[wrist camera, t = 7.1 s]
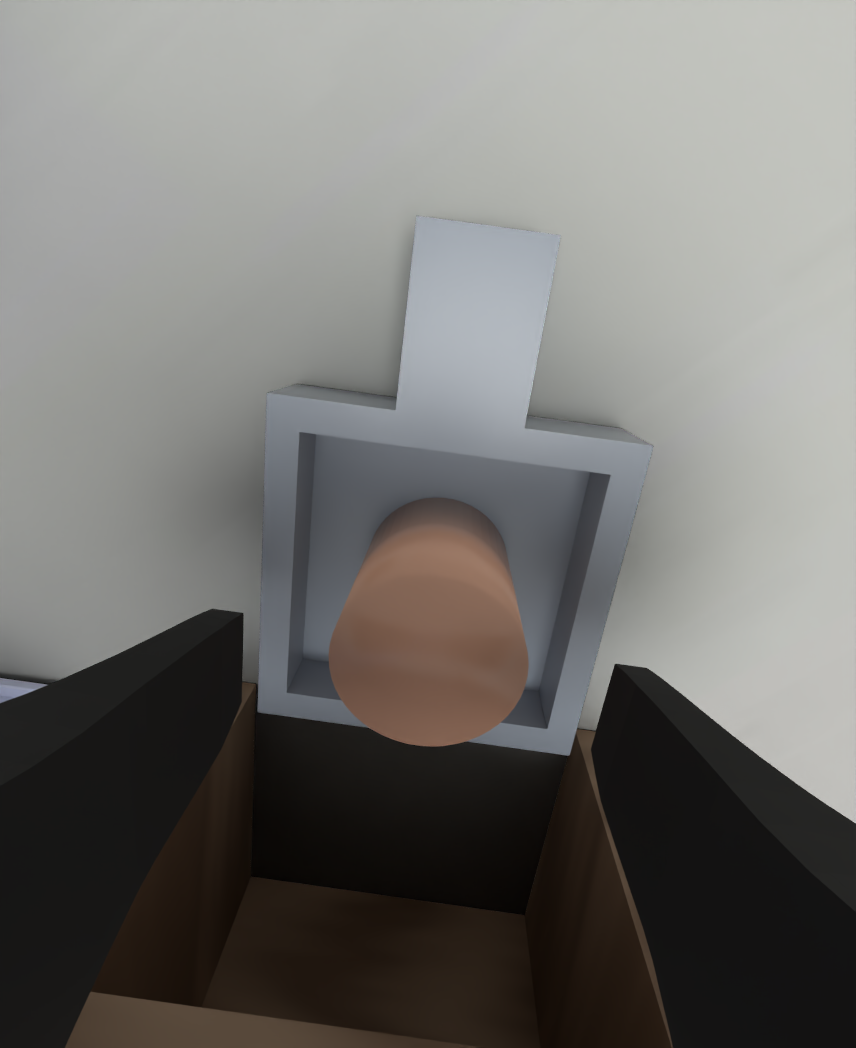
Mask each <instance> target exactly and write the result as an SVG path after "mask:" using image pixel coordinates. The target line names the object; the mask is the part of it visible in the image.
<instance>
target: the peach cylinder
mask: <svg viewBox="0 0 856 1048" xmlns="http://www.w3.org/2000/svg"><path fill="white" fill-rule="evenodd" d="M528 668H529V662H528V651H527V647H526V642H525V637H524V632H523V628H522V623H521V618H520V613H519V609H518V604H517V599H516V594H515V589H514V585H513V580H512V575H511V570H510V566H509V561H508V556H507V551H506V547H505V544H504V541H503V538H502V536H501V534H500V533H499V531H498V529H497V528H496V527H495V525H494V524H493V523H492V521H491V520H490V519H489V518H488V517H487V516H485V515H484V514H483V513H482V512H480V511H479V510H477V509H476V508H474V507H472V506H471V505H468V504H466V503H464V502H461V501H458V500H454V499H448V498H435V497H434V498H424V499H420V500H416V501H413V502H410V503H407V504H405V505H403V506H401V507H399V508H398V509H396V510H395V511H394V512H392V513H391V514H390V515H389V516H388V517H387V518H385V520H384V521H383V522H382V523H381V524H380V526H379V527H378V529H377V530H376V532H375V534H374V536H373V539H372V541H371V543H370V546H369V548H368V550H367V553H366V555H365V558H364V560H363V562H362V565H361V567H360V569H359V572H358V574H357V577H356V579H355V581H354V584H353V586H352V588H351V591H350V593H349V596H348V598H347V600H346V603H345V605H344V608H343V610H342V612H341V615H340V617H339V619H338V622H337V624H336V627H335V629H334V631H333V634H332V638H331V641H330V646H329V669H330V674H331V678H332V681H333V684H334V687H335V689H336V691H337V693H338V695H339V697H340V699H341V700H342V701H343V703H344V704H345V706H346V707H347V708H348V709H349V710H350V712H351V713H352V714H353V715H354V716H355V717H356V718H357V719H359V720H360V721H361V722H362V723H363V724H365V725H366V726H368V727H369V728H371V729H372V730H374V731H375V732H377V733H379V734H381V735H383V736H385V737H388V738H390V739H393V740H396V741H399V742H403V743H406V744H412V745H418V746H447V745H453V744H458V743H462V742H465V741H469V740H471V739H474V738H476V737H479V736H481V735H483V734H484V733H486V732H488V731H490V730H491V729H493V728H494V727H495V726H497V725H498V724H499V723H501V722H502V721H503V720H504V719H505V718H506V717H507V716H508V715H509V714H510V712H511V711H512V710H513V709H514V708H515V706H516V704H517V703H518V701H519V699H520V698H521V695H522V693H523V691H524V688H525V685H526V681H527V677H528Z"/></svg>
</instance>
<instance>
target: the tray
mask: <svg viewBox="0 0 856 1048" xmlns="http://www.w3.org/2000/svg"><path fill="white" fill-rule="evenodd" d="M560 237H561V235H556V234H549V233H541V232H534V231H527V230H519V229H512V228H505V227H497V226H490V225H483V224H475V223H468V222H461V221H453V220H446V219H439V218H431V217H424V216H416V225H415V234H414V244H413V253H412V262H411V271H410V281H409V290H408V299H407V308H406V318H405V327H404V336H403V346H402V355H401V364H400V373H399V383H398V392H397V397H390V396H382V395H375V394H368V393H360V392H353V391H346V390H339V389H331V388H324V387H317V386H310V385H302V384H294V385H291V386H288V387H284V388H281V389H278V390H274V391H271V392H268V393H267V402H266V437H265V472H264V506H263V541H262V576H261V611H260V646H259V680H258V712H260V713H267V714H274V715H281V716H288V717H296V718H303V719H310V720H317V721H324V722H331V723H339V724H346V725H353V726H360V727H367V728H369V727H368V726H366V725H365V724H363V723H362V722H361V721H360V720H359V719H357V718H356V717H355V716H354V715H353V714H352V713H351V712H350V710H349V709H348V708H347V707H346V706H345V704H344V703H343V701H342V700H341V699H340V697H339V695H338V693H337V691H336V689H335V687H334V684H333V681H332V678H331V674H330V669H329V646H330V641H331V638H332V634H333V631H334V629H335V627H336V624H337V622H338V619H339V617H340V615H341V612H342V610H343V608H344V605H345V603H346V600H347V598H348V596H349V593H350V591H351V588H352V586H353V584H354V581H355V579H356V577H357V574H358V572H359V569H360V567H361V565H362V562H363V560H364V558H365V555H366V553H367V550H368V548H369V546H370V543H371V541H372V539H373V536H374V534H375V532H376V530H377V529H378V527H379V526H380V524H381V523H382V522H383V521H384V520H385V518H387V517H388V516H389V515H390V514H391V513H392V512H394V511H395V510H396V509H398V508H399V507H401V506H403V505H405V504H407V503H410V502H413V501H416V500H420V499H424V498H434V497H435V498H448V499H454V500H458V501H461V502H464V503H466V504H468V505H471V506H472V507H474V508H476V509H477V510H479V511H480V512H482V513H483V514H484V515H485V516H487V517H488V518H489V519H490V520H491V521H492V523H493V524H494V525H495V527H496V528H497V529H498V531H499V533H500V534H501V536H502V538H503V541H504V544H505V547H506V551H507V556H508V561H509V566H510V570H511V575H512V580H513V585H514V589H515V594H516V599H517V604H518V609H519V613H520V618H521V623H522V628H523V632H524V637H525V642H526V647H527V651H528V662H529V668H528V677H527V681H526V685H525V688H524V691H523V693H522V695H521V698H520V699H519V701H518V703H517V704H516V706H515V708H514V709H513V710H512V711H511V712H510V714H509V715H508V716H507V717H506V718H505V719H504V720H503V721H502V722H501V723H499V724H498V725H497V726H495V727H494V728H493V729H491V730H490V731H488V732H486V733H484V734H483V735H481V736H479V737H476V738H474V739H471V740H469V741H467V742H474V743H482V744H489V745H496V746H503V747H510V748H517V749H525V750H532V751H539V752H546V753H553V754H560V755H567V756H570V752H571V749H572V745H573V741H574V738H575V734H576V730H577V726H578V723H579V719H580V715H581V712H582V708H583V704H584V701H585V697H586V693H587V690H588V686H589V682H590V679H591V675H592V671H593V668H594V664H595V660H596V657H597V653H598V649H599V645H600V642H601V638H602V634H603V631H604V627H605V623H606V620H607V616H608V612H609V609H610V605H611V601H612V598H613V594H614V590H615V587H616V583H617V579H618V575H619V572H620V568H621V564H622V561H623V557H624V553H625V550H626V546H627V542H628V539H629V535H630V531H631V528H632V524H633V520H634V517H635V513H636V509H637V506H638V502H639V498H640V494H641V491H642V487H643V483H644V480H645V476H646V472H647V469H648V465H649V461H650V458H651V454H652V450H653V447H654V446H653V445H651V444H649V443H647V442H646V441H644V440H642V439H640V438H638V437H637V436H635V435H633V434H631V433H629V432H628V431H626V430H624V429H622V428H615V427H608V426H600V425H593V424H586V423H578V422H571V421H564V420H557V419H549V418H542V417H535V416H528V415H527V412H528V407H529V402H530V396H531V391H532V386H533V380H534V375H535V370H536V365H537V359H538V354H539V349H540V343H541V338H542V333H543V327H544V322H545V317H546V312H547V306H548V301H549V296H550V290H551V285H552V280H553V274H554V269H555V264H556V259H557V253H558V248H559V243H560Z"/></svg>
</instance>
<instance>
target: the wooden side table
mask: <svg viewBox="0 0 856 1048" xmlns="http://www.w3.org/2000/svg"><path fill="white" fill-rule="evenodd" d="M255 706H256V684H252V683H245V682H242V703H241V705H240V707H239V710H238V712H237V715H236V717H235V719H234V722H233V724H232V726H231V729H230V731H229V733H228V735H227V738H226V740H225V742H224V744H223V747H222V749H221V751H220V752H219V754H218V756H217V758H216V759H215V761H214V763H213V764H212V766H211V768H210V769H209V771H208V773H207V775H206V776H205V778H204V780H203V781H202V783H201V785H200V786H199V788H198V790H197V791H196V793H195V795H194V796H193V798H192V800H191V801H190V803H189V805H188V806H187V808H186V810H185V811H184V813H183V815H182V816H181V818H180V820H179V821H178V823H177V825H176V826H175V828H174V830H173V832H172V833H171V835H170V837H169V838H168V840H167V842H166V843H165V845H164V847H163V848H162V850H161V852H160V853H159V855H158V857H157V858H156V860H155V862H154V863H153V865H152V867H151V869H150V871H149V872H148V874H147V876H146V878H145V880H144V882H143V883H142V885H141V887H140V889H139V891H138V893H137V895H136V897H135V899H134V901H133V903H132V905H131V907H130V909H129V911H128V913H127V915H126V918H125V920H124V922H123V924H122V926H121V928H120V930H119V932H118V934H117V936H116V938H115V940H114V942H113V945H112V947H111V949H110V951H109V953H108V955H107V957H106V959H105V961H104V963H103V966H102V968H101V970H100V972H99V974H98V976H97V979H96V981H95V983H94V985H93V987H92V990H91V992H90V994H89V996H88V998H87V1000H86V1003H85V1005H84V1007H83V1009H82V1011H81V1013H80V1016H79V1018H78V1020H77V1022H76V1024H75V1026H74V1029H73V1031H72V1033H71V1035H70V1037H69V1040H68V1042H67V1044H66V1047H65V1048H673V1046H672V1041H671V1036H670V1032H669V1028H668V1024H667V1019H666V1015H665V1011H664V1007H663V1003H662V998H661V994H660V990H659V986H658V982H657V977H656V973H655V969H654V965H653V961H652V957H651V954H650V950H649V947H648V944H647V940H646V937H645V934H644V930H643V927H642V924H641V921H640V918H639V915H638V912H637V909H636V906H635V903H634V900H633V897H632V894H631V891H630V888H629V885H628V882H627V879H626V876H625V873H624V870H623V867H622V864H621V861H620V859H619V856H618V853H617V850H616V847H615V844H614V841H613V838H612V834H611V831H610V828H609V825H608V822H607V819H606V816H605V813H604V810H603V807H602V803H601V800H600V795H599V791H598V786H597V781H596V776H595V770H594V765H593V759H592V754H591V747H592V743H593V740H594V736H595V733H596V731H589V730H581V729H577V730H576V734H575V738H574V741H573V745H572V749H571V752H570V756H567V760H566V764H565V767H564V771H563V775H562V779H561V782H560V786H559V790H558V793H557V797H556V801H555V804H554V808H553V812H552V816H551V819H550V823H549V827H548V830H547V834H546V838H545V841H544V845H543V849H542V853H541V856H540V860H539V864H538V867H537V871H536V875H535V878H534V882H533V886H532V890H531V893H530V897H529V901H528V904H527V908H526V912H525V915H520V914H513V913H506V912H499V911H492V910H485V909H478V908H471V907H464V906H456V905H449V904H442V903H435V902H428V901H421V900H414V899H407V898H400V897H393V896H385V895H378V894H371V893H364V892H357V891H350V890H343V889H336V888H329V887H322V886H314V885H307V884H300V883H293V882H286V881H279V880H272V879H265V878H258V877H251V854H252V817H253V780H254V743H255Z"/></svg>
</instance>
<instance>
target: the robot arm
mask: <svg viewBox="0 0 856 1048" xmlns="http://www.w3.org/2000/svg"><path fill="white" fill-rule="evenodd" d="M242 663H243V613H239V612H231V611H224V610H217V609H211V610H208V611H206V612H203V613H201V614H199V615H196V616H194V617H192V618H190V619H188V620H186V621H184V622H182V623H180V624H178V625H176V626H174V627H172V628H170V629H168V630H166V631H164V632H162V633H160V634H158V635H156V636H154V637H152V638H150V639H148V640H146V641H144V642H142V643H140V644H138V645H136V646H134V647H132V648H130V649H128V650H126V651H124V652H121V653H119V654H117V655H115V656H113V657H111V658H108V659H106V660H104V661H102V662H99V663H97V664H95V665H93V666H90V667H88V668H86V669H84V670H82V671H79V672H77V673H75V674H73V675H70V676H68V677H66V678H64V679H61V680H59V681H57V682H54V683H52V684H49V685H46V684H39V683H32V682H25V681H18V680H11V679H4V678H0V1048H65V1047H66V1044H67V1042H68V1040H69V1037H70V1035H71V1033H72V1031H73V1029H74V1026H75V1024H76V1022H77V1020H78V1018H79V1016H80V1013H81V1011H82V1009H83V1007H84V1005H85V1003H86V1000H87V998H88V996H89V994H90V992H91V990H92V987H93V985H94V983H95V981H96V979H97V976H98V974H99V972H100V970H101V968H102V966H103V963H104V961H105V959H106V957H107V955H108V953H109V951H110V949H111V947H112V945H113V942H114V940H115V938H116V936H117V934H118V932H119V930H120V928H121V926H122V924H123V922H124V920H125V918H126V915H127V913H128V911H129V909H130V907H131V905H132V903H133V901H134V899H135V897H136V895H137V893H138V891H139V889H140V887H141V885H142V883H143V882H144V880H145V878H146V876H147V874H148V872H149V871H150V869H151V867H152V865H153V863H154V862H155V860H156V858H157V857H158V855H159V853H160V852H161V850H162V848H163V847H164V845H165V843H166V842H167V840H168V838H169V837H170V835H171V833H172V832H173V830H174V828H175V826H176V825H177V823H178V821H179V820H180V818H181V816H182V815H183V813H184V811H185V810H186V808H187V806H188V805H189V803H190V801H191V800H192V798H193V796H194V795H195V793H196V791H197V790H198V788H199V786H200V785H201V783H202V781H203V780H204V778H205V776H206V775H207V773H208V771H209V769H210V768H211V766H212V764H213V763H214V761H215V759H216V758H217V756H218V754H219V752H220V751H221V749H222V747H223V744H224V742H225V740H226V738H227V735H228V733H229V731H230V729H231V726H232V724H233V722H234V719H235V717H236V715H237V712H238V710H239V707H240V705H241V703H242ZM591 754H592V759H593V765H594V770H595V776H596V781H597V786H598V791H599V795H600V800H601V803H602V807H603V810H604V813H605V816H606V819H607V822H608V825H609V828H610V831H611V834H612V838H613V841H614V844H615V847H616V850H617V853H618V856H619V859H620V861H621V864H622V867H623V870H624V873H625V876H626V879H627V882H628V885H629V888H630V891H631V894H632V897H633V900H634V903H635V906H636V909H637V912H638V915H639V918H640V921H641V924H642V927H643V930H644V934H645V937H646V940H647V944H648V947H649V950H650V954H651V957H652V961H653V965H654V969H655V973H656V977H657V982H658V986H659V990H660V994H661V998H662V1003H663V1007H664V1011H665V1015H666V1019H667V1024H668V1028H669V1032H670V1036H671V1041H672V1046H673V1048H856V823H854V822H852V821H851V820H849V819H848V818H846V817H845V816H843V815H842V814H840V813H839V812H837V811H836V810H834V809H832V808H831V807H829V806H828V805H826V804H825V803H823V802H822V801H820V800H819V799H817V798H816V797H815V796H813V795H812V794H810V793H809V792H807V791H806V790H804V789H803V788H802V787H800V786H799V785H797V784H796V783H795V782H793V781H792V780H791V779H789V778H788V777H787V776H785V775H784V774H782V773H781V772H780V771H778V770H777V769H776V768H774V767H773V766H772V765H770V764H769V763H767V762H766V761H765V760H763V759H762V758H761V757H759V756H758V755H757V754H756V753H754V752H753V751H752V750H750V749H749V748H748V747H746V746H745V745H744V744H743V743H741V742H740V741H739V740H738V739H736V738H735V737H734V736H732V735H731V734H730V733H729V732H727V731H726V730H725V729H724V728H722V727H721V726H720V725H719V724H717V723H716V722H715V721H714V720H713V719H711V718H710V717H709V716H708V715H706V714H705V713H704V712H703V711H701V710H700V709H699V708H698V707H697V706H695V705H694V704H693V703H692V702H690V701H689V700H688V699H687V698H686V697H684V696H683V695H682V694H681V693H679V692H678V691H677V690H676V689H674V688H673V687H672V686H671V685H669V684H668V683H667V682H665V681H664V680H663V679H662V678H660V677H659V676H657V675H656V674H655V673H653V672H652V671H650V670H649V669H647V668H642V667H635V666H628V665H620V664H615V666H614V669H613V673H612V676H611V680H610V683H609V687H608V690H607V694H606V697H605V701H604V704H603V708H602V712H601V715H600V719H599V722H598V726H597V729H596V733H595V736H594V740H593V743H592V747H591Z"/></svg>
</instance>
